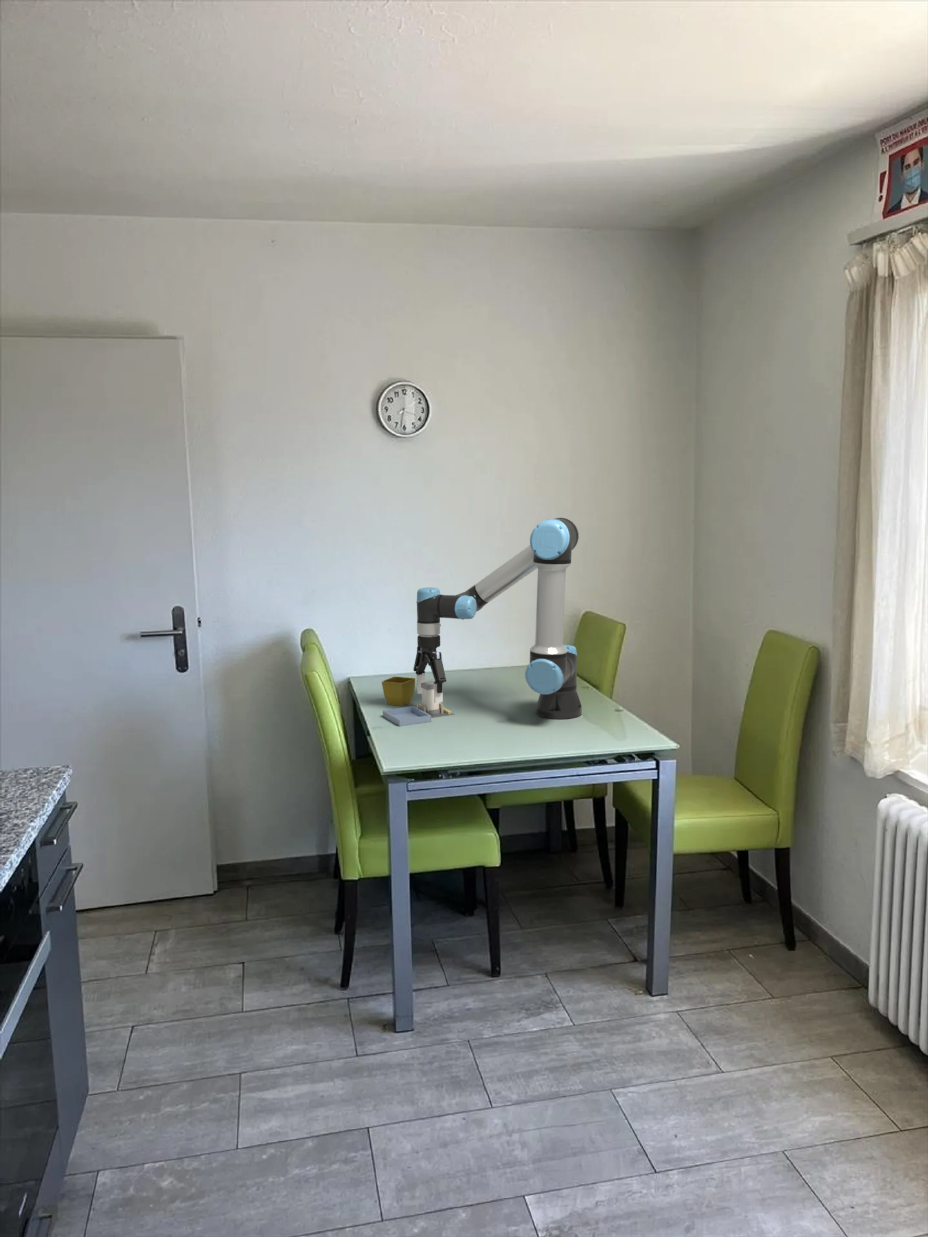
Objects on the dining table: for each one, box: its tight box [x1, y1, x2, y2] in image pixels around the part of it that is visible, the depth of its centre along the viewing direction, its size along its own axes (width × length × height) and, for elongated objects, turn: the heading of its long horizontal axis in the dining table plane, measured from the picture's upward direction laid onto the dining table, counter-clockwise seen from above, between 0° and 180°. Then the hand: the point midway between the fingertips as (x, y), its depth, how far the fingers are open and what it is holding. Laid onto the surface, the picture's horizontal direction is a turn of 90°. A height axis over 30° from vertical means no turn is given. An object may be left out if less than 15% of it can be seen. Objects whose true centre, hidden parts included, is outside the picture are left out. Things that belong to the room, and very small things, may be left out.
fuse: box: [421, 680, 440, 715], centre depth 302 cm, size 4×4×10 cm
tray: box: [382, 705, 432, 727], centre depth 295 cm, size 14×11×2 cm
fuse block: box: [417, 702, 455, 719], centre depth 303 cm, size 12×10×4 cm
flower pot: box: [381, 676, 416, 707], centre depth 315 cm, size 9×9×9 cm
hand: (429, 697), depth 302 cm, fingers open, 13 cm apart
